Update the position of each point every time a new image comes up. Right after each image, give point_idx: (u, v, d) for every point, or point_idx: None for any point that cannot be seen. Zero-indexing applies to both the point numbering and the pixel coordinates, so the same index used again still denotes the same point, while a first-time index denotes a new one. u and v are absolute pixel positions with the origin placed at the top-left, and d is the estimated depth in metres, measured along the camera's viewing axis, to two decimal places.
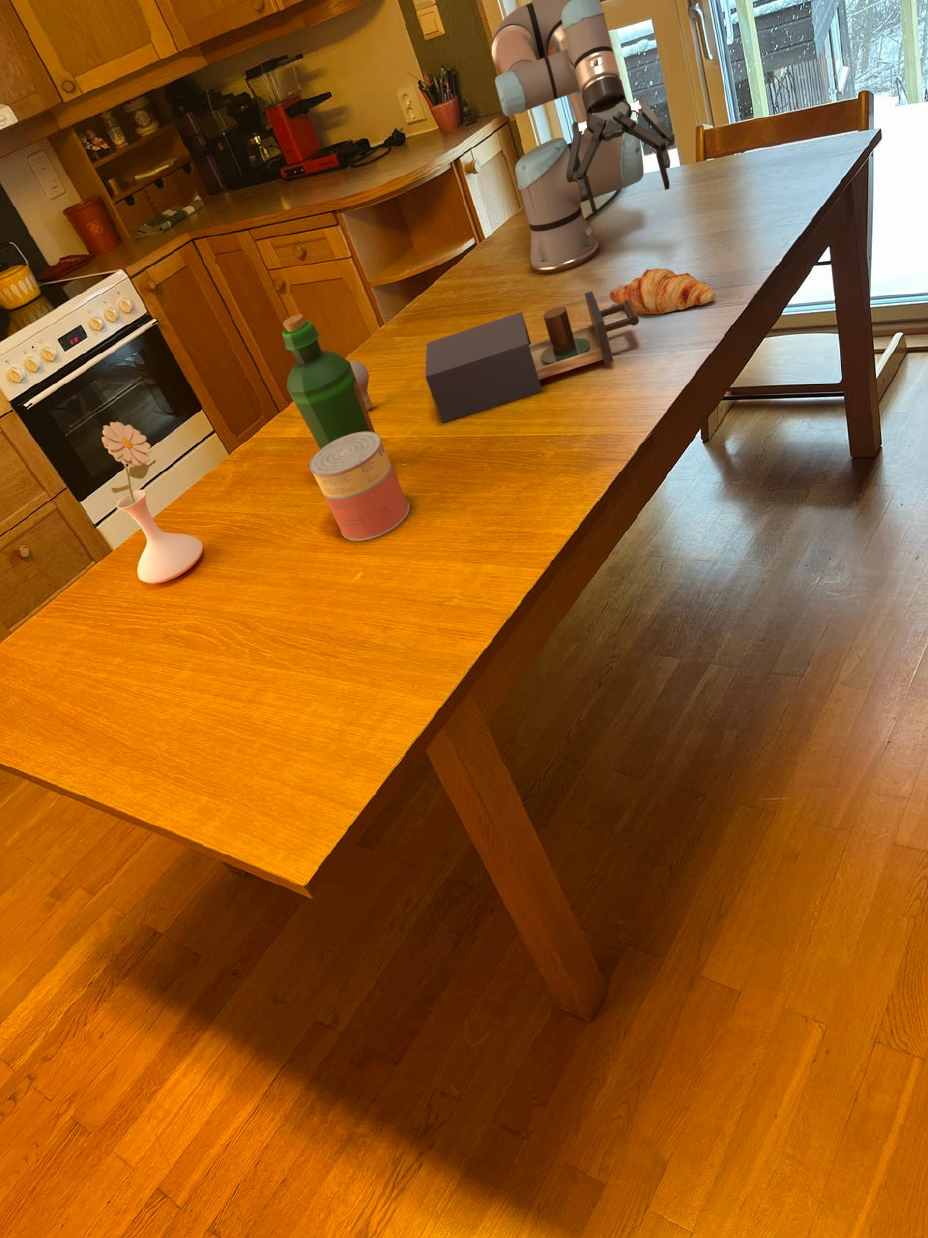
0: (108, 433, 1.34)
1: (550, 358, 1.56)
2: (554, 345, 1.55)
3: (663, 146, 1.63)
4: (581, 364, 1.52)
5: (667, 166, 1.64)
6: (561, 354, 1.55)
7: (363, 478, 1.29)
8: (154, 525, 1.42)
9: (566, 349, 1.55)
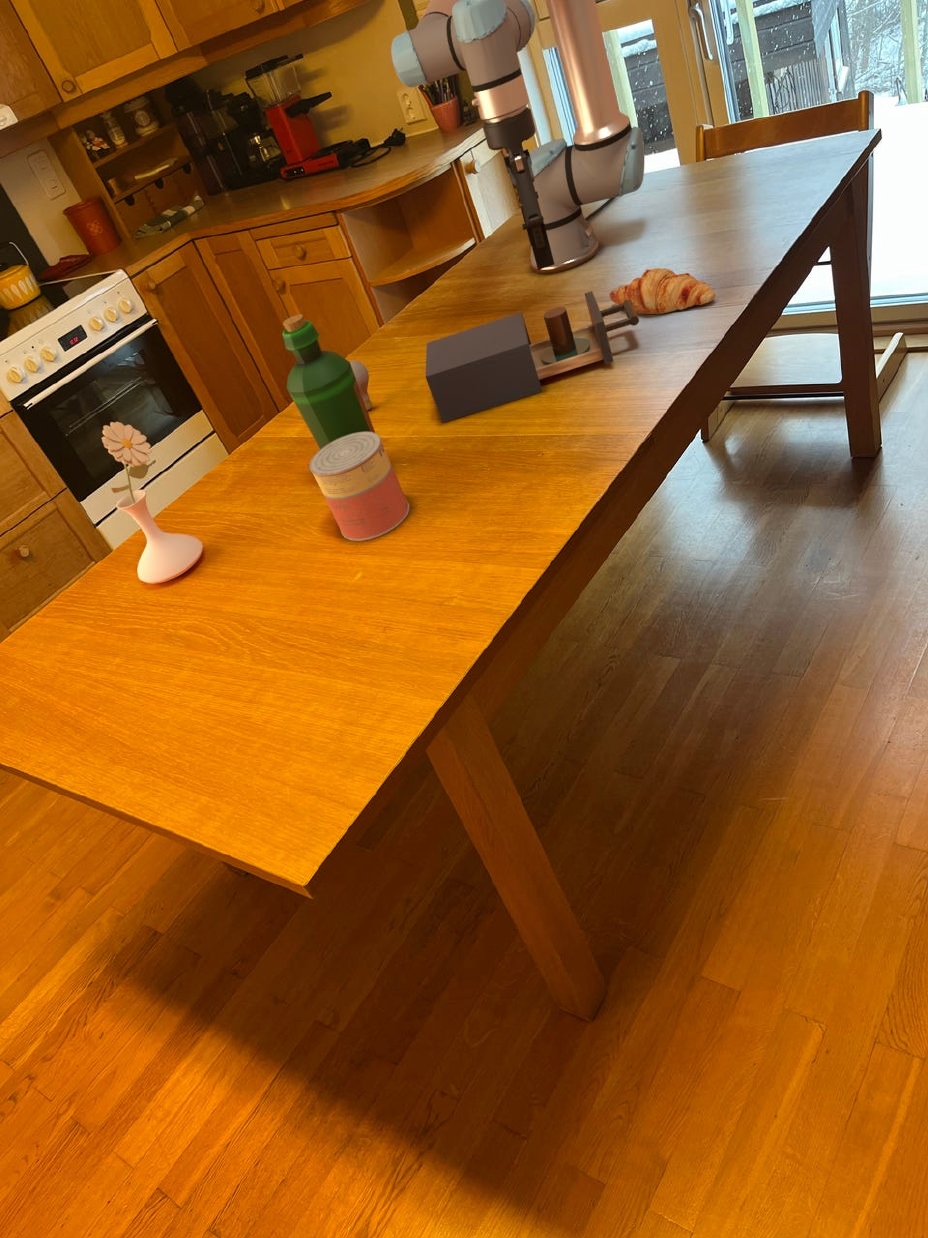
0: (108, 433, 1.34)
1: (550, 358, 1.56)
2: (554, 345, 1.55)
3: (527, 228, 1.37)
4: (581, 364, 1.52)
5: None
6: (561, 354, 1.55)
7: (363, 478, 1.29)
8: (154, 525, 1.42)
9: (566, 349, 1.55)
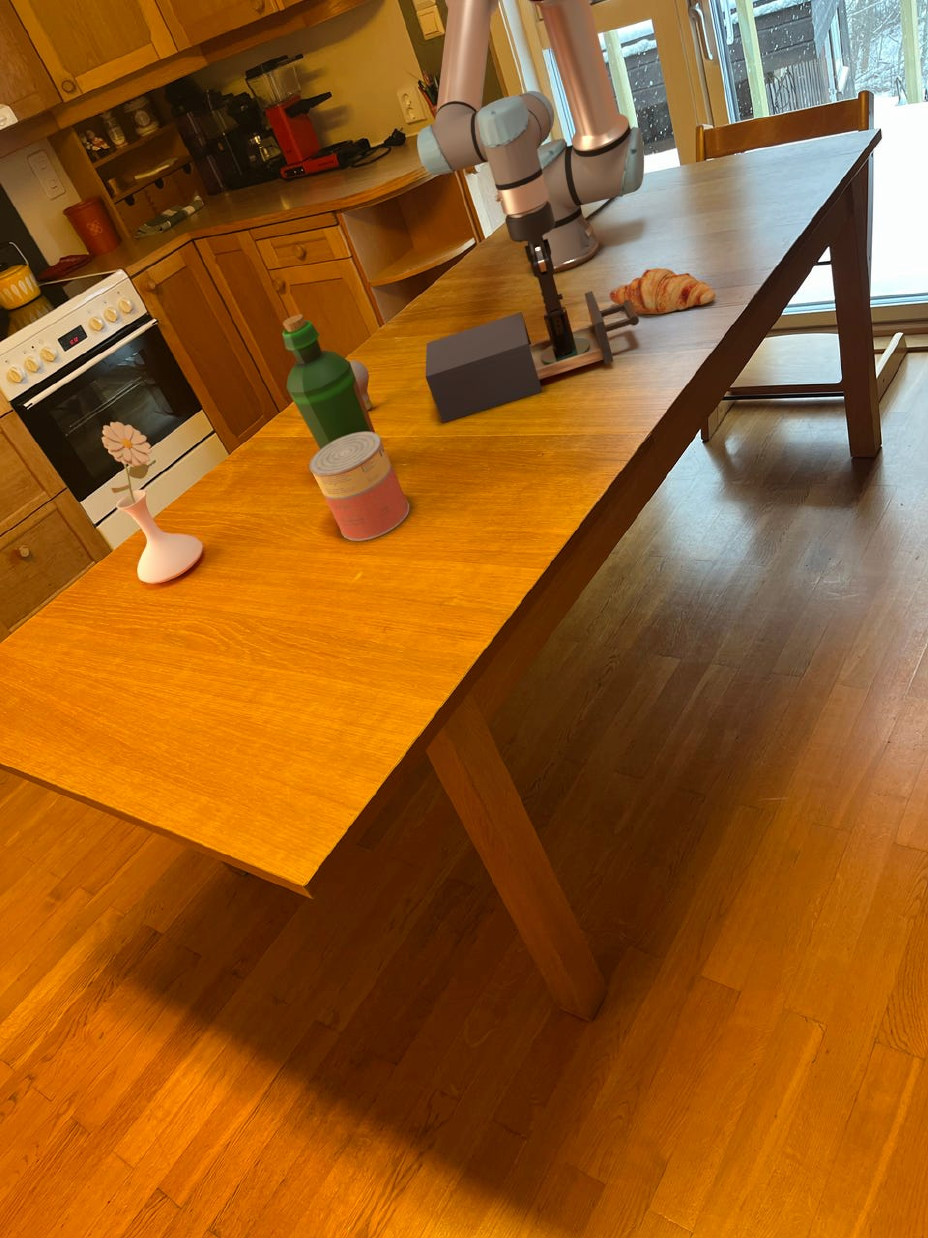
0: (108, 433, 1.34)
1: (550, 358, 1.56)
2: (554, 345, 1.55)
3: (548, 317, 1.50)
4: (581, 364, 1.52)
5: None
6: (561, 354, 1.55)
7: (363, 478, 1.29)
8: (154, 525, 1.42)
9: None
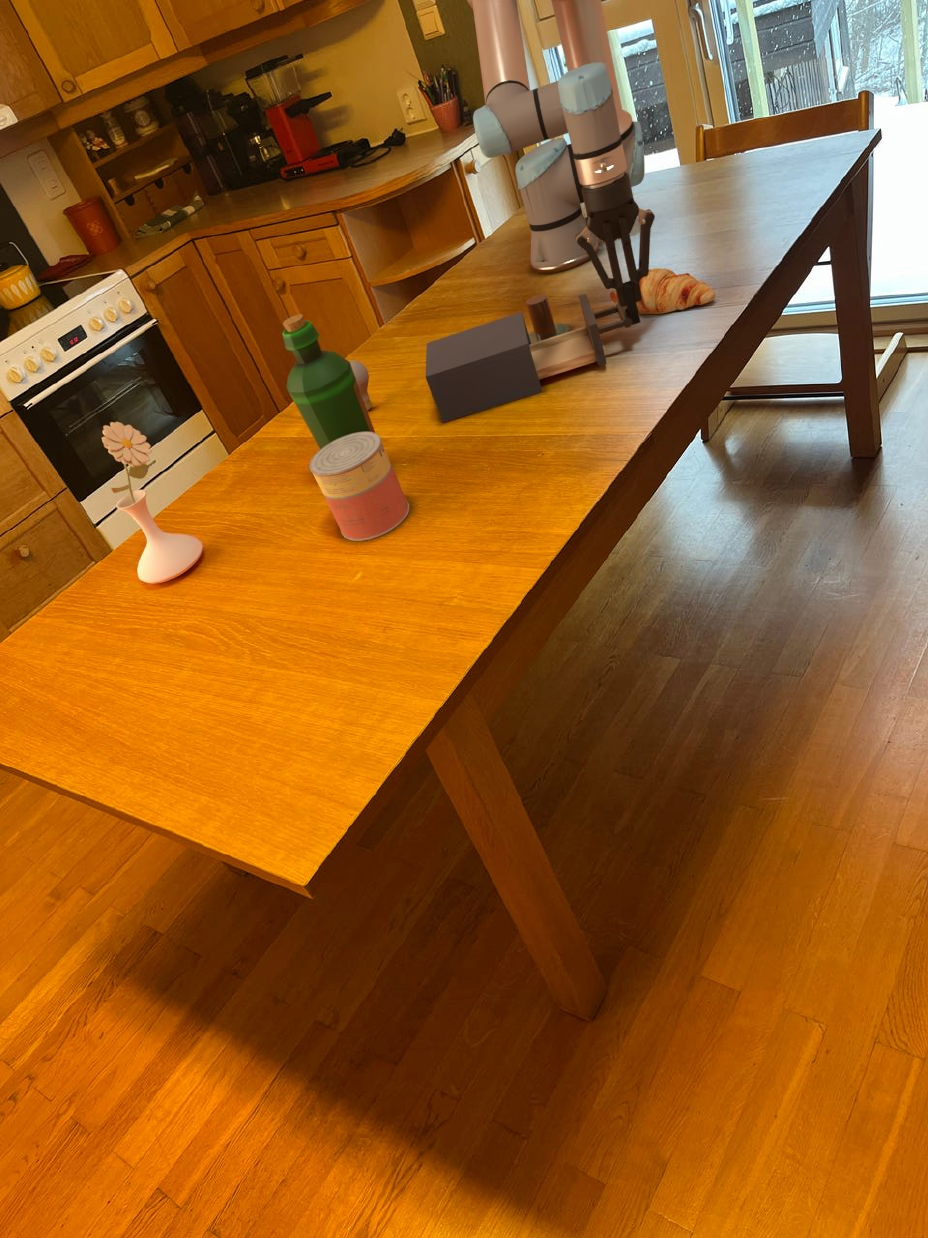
0: (108, 433, 1.34)
1: (533, 342, 1.69)
2: (536, 330, 1.68)
3: (633, 284, 1.49)
4: (575, 366, 1.52)
5: None
6: (542, 338, 1.69)
7: (363, 478, 1.29)
8: (154, 525, 1.42)
9: (547, 333, 1.68)
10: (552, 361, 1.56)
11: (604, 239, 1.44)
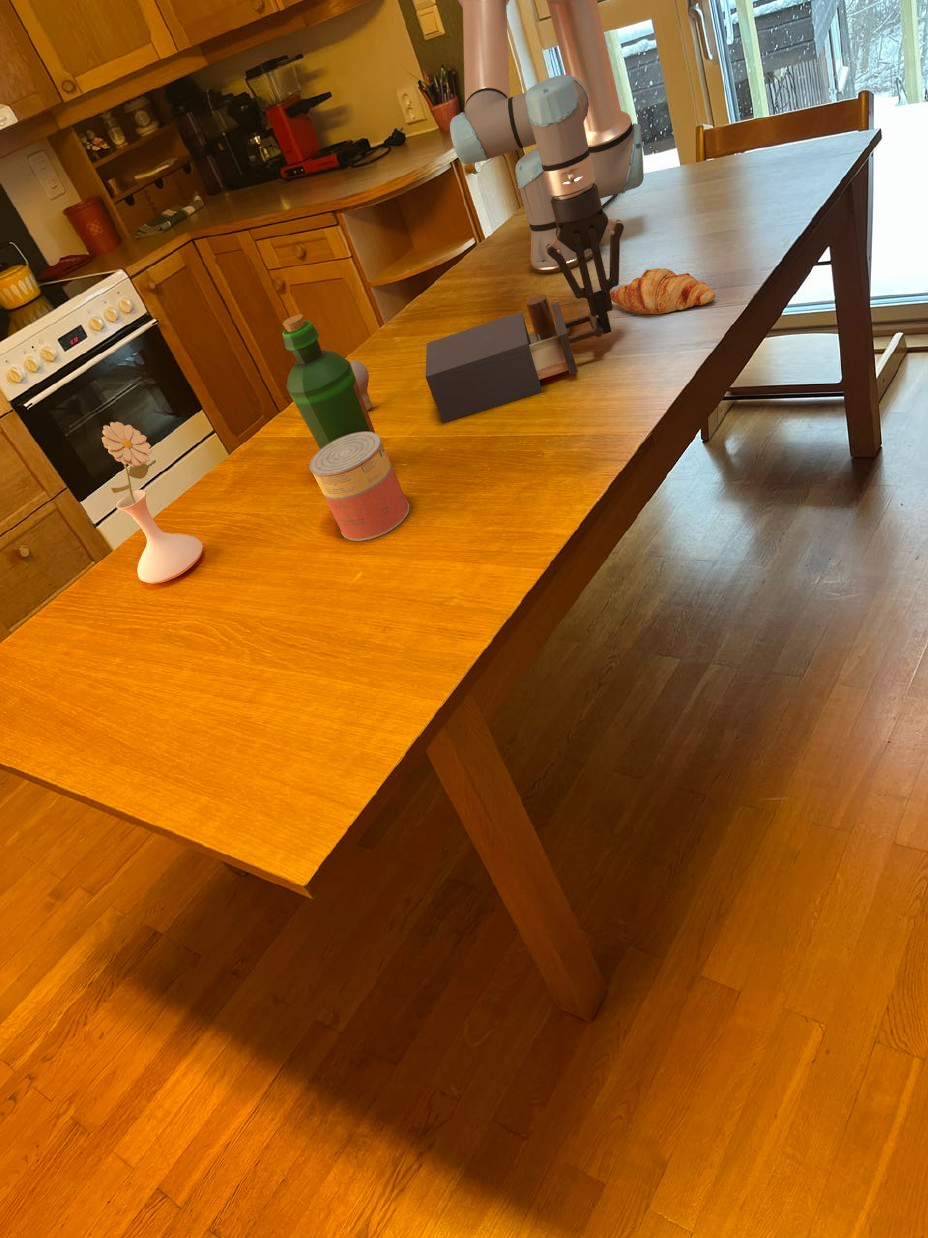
0: (108, 433, 1.34)
1: (533, 342, 1.69)
2: (536, 330, 1.68)
3: (604, 293, 1.50)
4: (546, 375, 1.53)
5: None
6: (542, 338, 1.69)
7: (363, 478, 1.29)
8: (154, 525, 1.42)
9: (547, 333, 1.68)
10: None
11: (574, 249, 1.45)
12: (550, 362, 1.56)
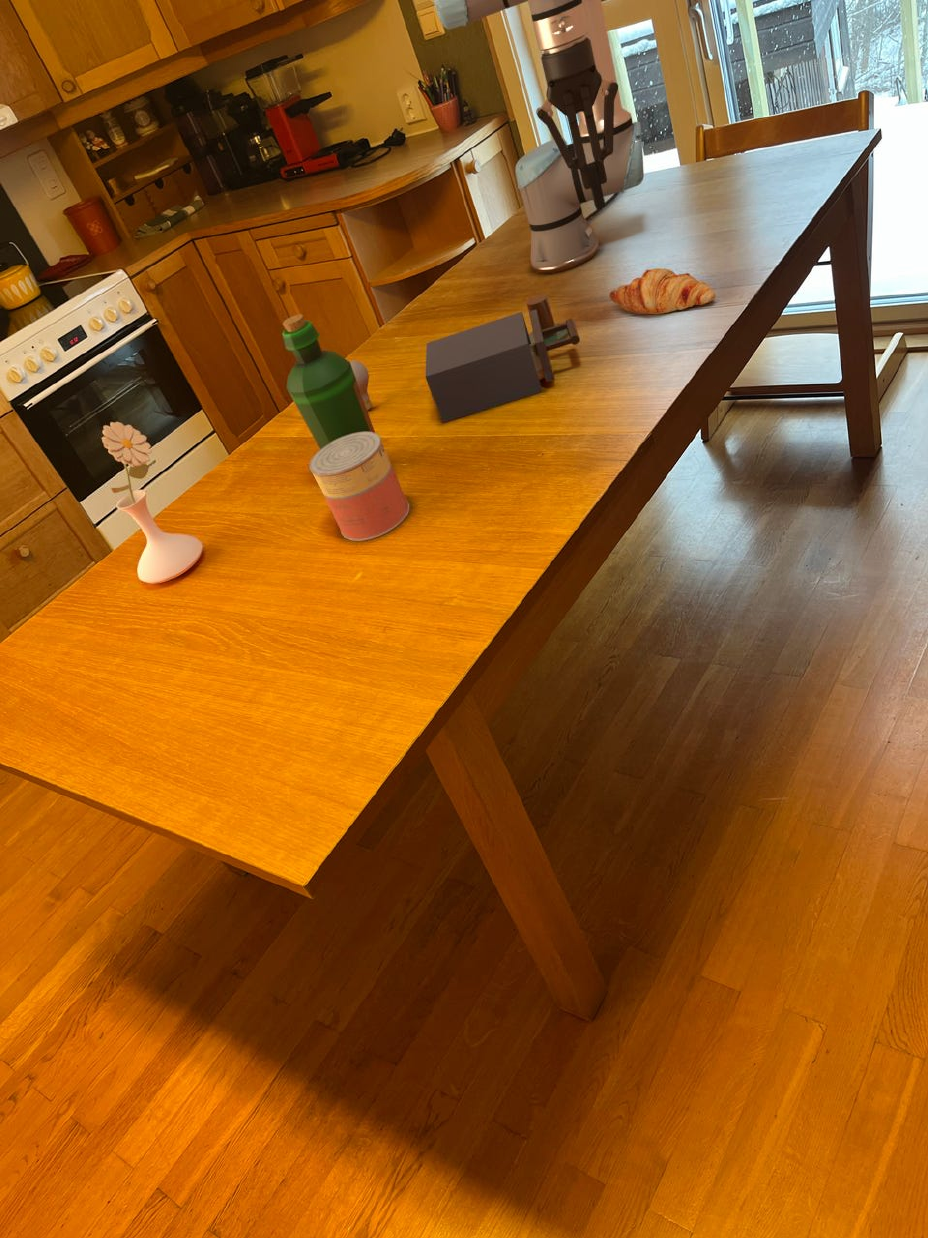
0: (108, 433, 1.34)
1: (533, 342, 1.69)
2: None
3: None
4: None
5: None
6: None
7: (363, 478, 1.29)
8: (154, 525, 1.42)
9: None
10: None
11: (566, 112, 1.37)
12: None
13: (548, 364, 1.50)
